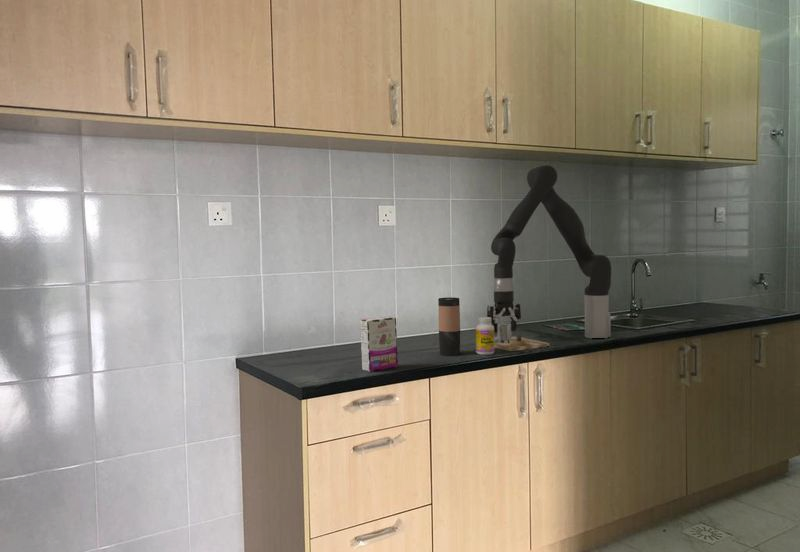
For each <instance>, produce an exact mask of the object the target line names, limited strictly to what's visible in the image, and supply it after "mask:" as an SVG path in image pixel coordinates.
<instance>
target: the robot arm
mask: <svg viewBox="0 0 800 552" xmlns="http://www.w3.org/2000/svg"><path fill="white" fill-rule="evenodd" d="M557 180H558V172H557V170H556V168H554V166H552V165H548V164H545V165H539V166H536V167H533V168H531V169H530V170H529V171H528V172H527V175H526V182H527V184H528V187H529V189H530V190H529V191H528V192H527V194H526V195H525V197H523V199H522V200H521V201H520V202H519V203H518V204H517V206H516V207H515V208H514V209H513V211H512V212H511V214H510V215H509V217H508V219H507V221H506V222H505V224H504V226H503V227H502V228H501V229H500V230H499V232H498V233H496V235H495V237H494V238H493V239H492V241H491V245H490V250H491V252H492V253H493V255H495V256H498V257H497V262H496V263H495V264H494V267H493V277H494V278H493V303H494V305H492V306H491V305H487V309H486V317H491V325H493V326H494V334H497V333H498V325H499V324H498V321H499V320H500V319H501V317H509V319H510V325H511V327H512V332H515V331H517V322H518V320H521V319H522V314H521V313H522V312H521V304H520V303H514V301H515V299H514V298H515V297H514V294H515V293H514V292H515V291H514V279H513V278H514V277H513V274H514V273H513V272H514V270H513V266H514V261H515V258H516V251H517V250H516V244H515V242H514V240H515V239H516V238H518V237H520V235H521V234H522V233H523V231H524V229H525V228H526V226H527V224H528V222H529V221H530V219H531V218H532V215H533V214H534V212H536V210H537V208H538V206H539V205H540V203H541V204H542V205H543V206H544V208H545V210H546V212H547V213H548V215H549V216H550V218H551V220H552V221H553V223H554V224H555V227H556V229H557V230H558V232H559V233H560V235H561V236H562V237H563V239H564V241H565V242H566V244H567V245H568V248H569V249H570V250H571V252H572V253H573V256H574V258H575V260H576V262H577V264H578V267H579V268H580V271H581V272H582V273H583V274H584V276H586V277H587V278H589V284H588V285H587V286H586V287H585V288H584V337H585V338H586V339H592V338H605V339H609V338H611V337H612V336H611V335H612V334H611V333H612V332H611V327H612V326H611V325H612V324H611V318H612V317H611V316H612V315H611V313H609V307H610V306H609V304H610V303H609V299H610V298H609V296H610V295H609V294H610V293H609V291H610V288H611V285H612V283H611V282H612V264H611V261H610V259H609V257H607V256H606V255H603V254H595V253H594V252H593V250H592V249H591V247H590V246H589V244H588V242H587V239H586V232H585V227H584V224H583V221H582V220H581V218H580V216H579V215H578V213H577V212H576V211H575V209H574V208H573V207H572V206H571V205H570V204H569V203H568V202H566V201H565V200H564V199H563V198H562V197H561V196H559V194H558V193H557V192H556V191H555V188H554V186H555V185H556V183H557ZM608 337H609V338H608Z"/></svg>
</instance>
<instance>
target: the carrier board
mask: <svg viewBox="0 0 800 552" xmlns="http://www.w3.org/2000/svg"><path fill="white" fill-rule="evenodd" d="M512 337H516V338H517V339H513V340H510V343H506V344H504V343H494V349H500V350H504V351H508V352H515V351H516V352H517V351H524V350H532V349H538V348H539V349H540V347H541V348H547V346H549V347H550V342H545V341H540V340H535V339H530V338H525V337H522V335H521V334H517V335H515V336H514V335H513V336H512Z"/></svg>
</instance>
